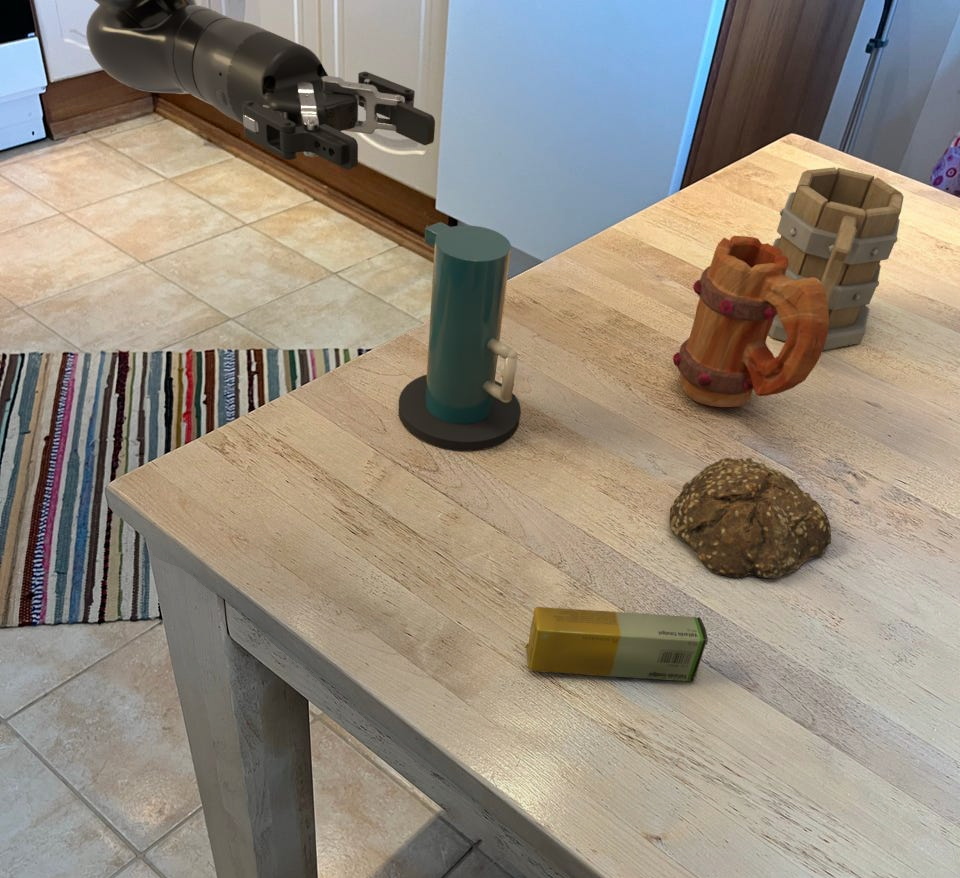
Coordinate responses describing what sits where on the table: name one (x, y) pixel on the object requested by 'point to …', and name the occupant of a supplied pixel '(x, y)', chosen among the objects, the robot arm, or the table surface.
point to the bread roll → (749, 520)
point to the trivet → (457, 435)
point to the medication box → (616, 644)
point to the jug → (467, 323)
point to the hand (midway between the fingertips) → (394, 143)
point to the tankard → (839, 244)
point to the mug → (750, 326)
